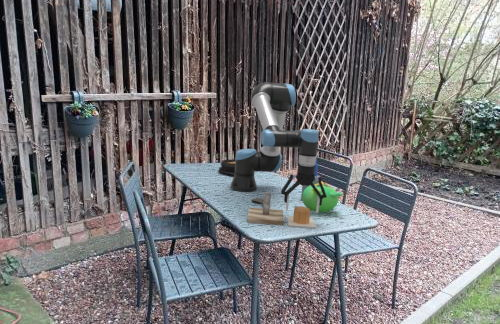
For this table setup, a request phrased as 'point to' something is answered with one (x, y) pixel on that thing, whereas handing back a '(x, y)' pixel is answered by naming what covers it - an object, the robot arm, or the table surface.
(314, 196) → the toy bird
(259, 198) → the weathered bronze handle
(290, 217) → the pad
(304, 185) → the spray bottle
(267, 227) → the table surface
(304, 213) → the cap
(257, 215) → the post base
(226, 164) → the casserole
